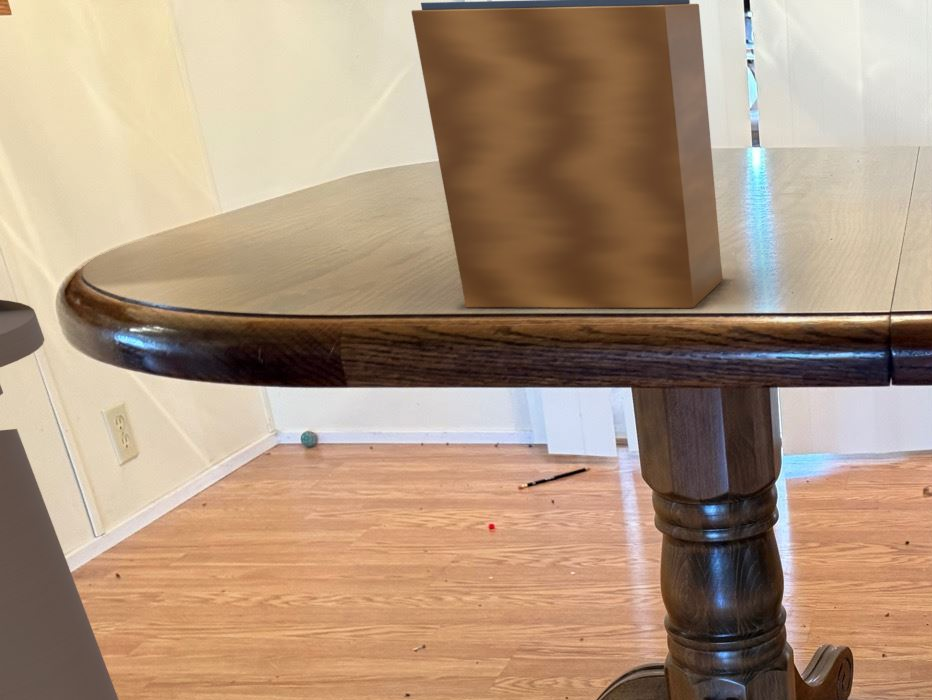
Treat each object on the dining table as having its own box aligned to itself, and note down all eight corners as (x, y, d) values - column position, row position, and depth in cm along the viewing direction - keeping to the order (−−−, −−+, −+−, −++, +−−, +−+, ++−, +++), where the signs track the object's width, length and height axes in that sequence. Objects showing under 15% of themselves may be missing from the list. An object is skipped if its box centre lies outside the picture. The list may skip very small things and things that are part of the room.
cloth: (421, 10, 77) (420, 2, 76) (472, 8, 83) (471, 1, 83) (658, 5, 75) (657, -3, 75) (690, 3, 82) (689, -3, 82)
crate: (465, 307, 85) (410, 10, 76) (513, 280, 93) (468, 8, 84) (693, 308, 83) (664, 5, 75) (722, 280, 91) (699, 3, 82)
